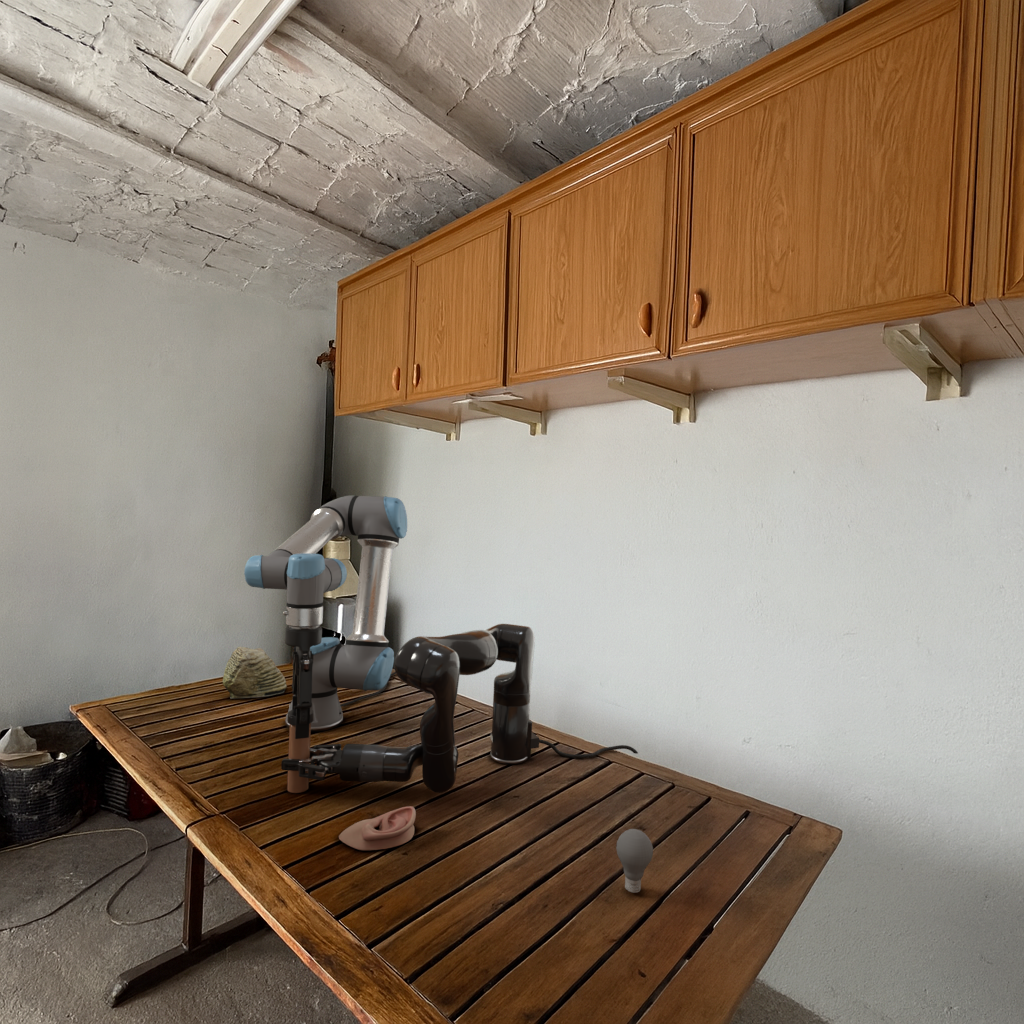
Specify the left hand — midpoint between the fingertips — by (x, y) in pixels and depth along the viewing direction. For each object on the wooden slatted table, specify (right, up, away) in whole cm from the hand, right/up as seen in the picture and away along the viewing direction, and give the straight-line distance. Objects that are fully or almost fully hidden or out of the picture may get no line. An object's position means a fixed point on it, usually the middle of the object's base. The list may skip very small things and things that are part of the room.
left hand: (300, 730), depth 137 cm
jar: (0, -13, 0) cm, 13 cm away
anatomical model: (+21, -14, -18) cm, 30 cm away
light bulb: (+66, -16, -31) cm, 75 cm away
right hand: (-3, -6, 0) cm, 7 cm away
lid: (0, +4, 0) cm, 4 cm away
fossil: (-35, -10, +61) cm, 71 cm away
